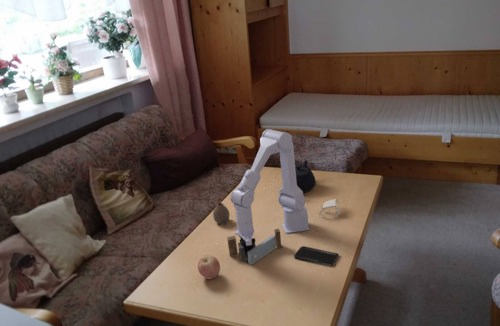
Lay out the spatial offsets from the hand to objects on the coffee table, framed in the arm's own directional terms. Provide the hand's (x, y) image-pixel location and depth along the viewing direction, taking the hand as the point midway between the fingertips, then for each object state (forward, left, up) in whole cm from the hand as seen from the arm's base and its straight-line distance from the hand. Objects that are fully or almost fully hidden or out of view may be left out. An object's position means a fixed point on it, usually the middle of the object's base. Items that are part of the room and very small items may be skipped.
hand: (248, 251), depth 172 cm
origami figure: (-40, -22, -2) cm, 45 cm away
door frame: (-3, -3, -2) cm, 5 cm away
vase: (+7, -29, -2) cm, 30 cm away
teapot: (-33, -50, -2) cm, 60 cm away
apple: (+15, +9, -2) cm, 18 cm away
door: (-5, +2, -2) cm, 6 cm away
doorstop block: (0, 0, -2) cm, 2 cm away
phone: (-24, +8, -2) cm, 25 cm away
